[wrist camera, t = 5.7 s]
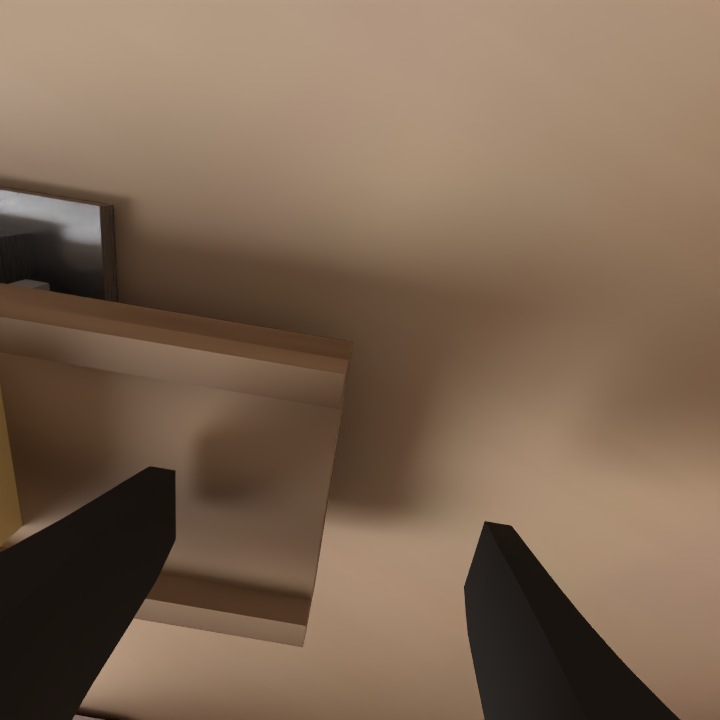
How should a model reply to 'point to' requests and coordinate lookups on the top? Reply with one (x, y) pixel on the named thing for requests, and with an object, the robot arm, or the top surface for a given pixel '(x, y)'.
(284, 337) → the beam
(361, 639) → the top surface
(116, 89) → the top surface
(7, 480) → the block
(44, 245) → the pivot stand
